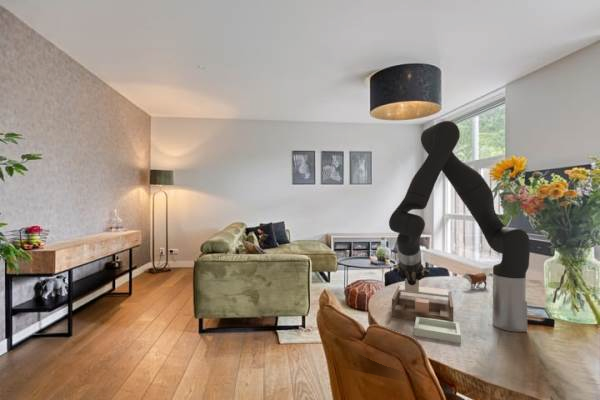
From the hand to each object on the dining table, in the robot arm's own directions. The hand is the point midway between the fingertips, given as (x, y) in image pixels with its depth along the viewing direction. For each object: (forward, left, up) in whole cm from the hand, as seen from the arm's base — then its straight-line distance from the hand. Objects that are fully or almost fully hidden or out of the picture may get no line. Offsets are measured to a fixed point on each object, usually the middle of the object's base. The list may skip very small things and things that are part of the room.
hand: (411, 283), depth 122 cm
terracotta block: (-4, +6, -9) cm, 11 cm away
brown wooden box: (-4, 0, -11) cm, 11 cm away
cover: (-4, -5, -4) cm, 7 cm away
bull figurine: (-26, -49, -11) cm, 56 cm away
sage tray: (-9, +18, -11) cm, 22 cm away
